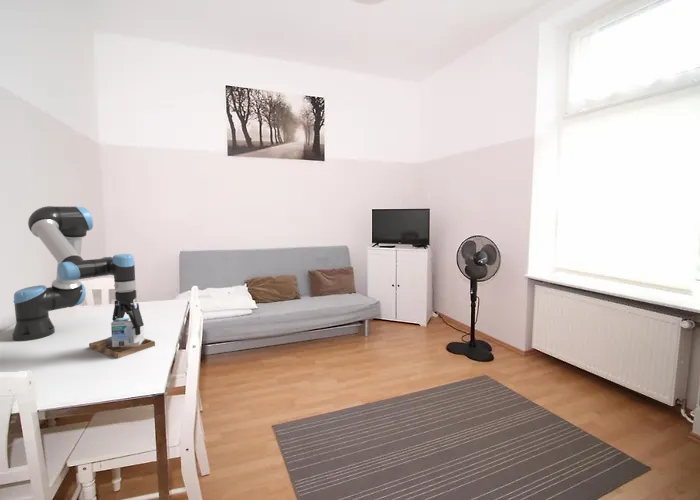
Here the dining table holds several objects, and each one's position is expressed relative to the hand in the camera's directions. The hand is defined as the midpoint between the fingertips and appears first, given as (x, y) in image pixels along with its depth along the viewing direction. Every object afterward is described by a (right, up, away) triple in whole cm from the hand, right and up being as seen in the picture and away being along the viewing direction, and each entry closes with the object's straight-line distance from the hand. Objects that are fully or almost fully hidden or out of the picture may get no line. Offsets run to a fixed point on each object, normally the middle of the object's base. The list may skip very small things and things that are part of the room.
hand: (128, 339), depth 150 cm
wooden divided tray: (-5, -4, +3) cm, 7 cm away
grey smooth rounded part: (-9, -4, +5) cm, 12 cm away
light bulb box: (0, -2, 0) cm, 2 cm away
